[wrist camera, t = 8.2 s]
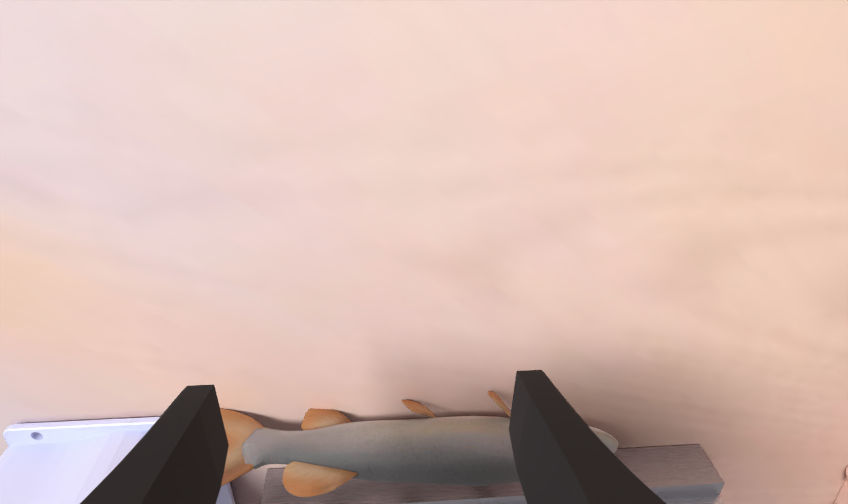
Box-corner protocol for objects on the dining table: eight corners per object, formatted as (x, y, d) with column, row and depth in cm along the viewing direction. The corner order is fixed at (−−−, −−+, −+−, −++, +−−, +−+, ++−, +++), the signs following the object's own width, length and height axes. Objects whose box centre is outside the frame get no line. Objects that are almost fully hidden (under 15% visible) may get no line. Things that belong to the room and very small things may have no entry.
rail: (274, 504, 30) (265, 557, 27) (267, 468, 28) (256, 522, 26) (685, 478, 32) (713, 526, 29) (699, 444, 30) (730, 491, 27)
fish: (590, 437, 29) (627, 523, 25) (196, 437, 27) (162, 531, 23) (611, 378, 27) (656, 460, 23) (185, 371, 25) (145, 462, 20)
